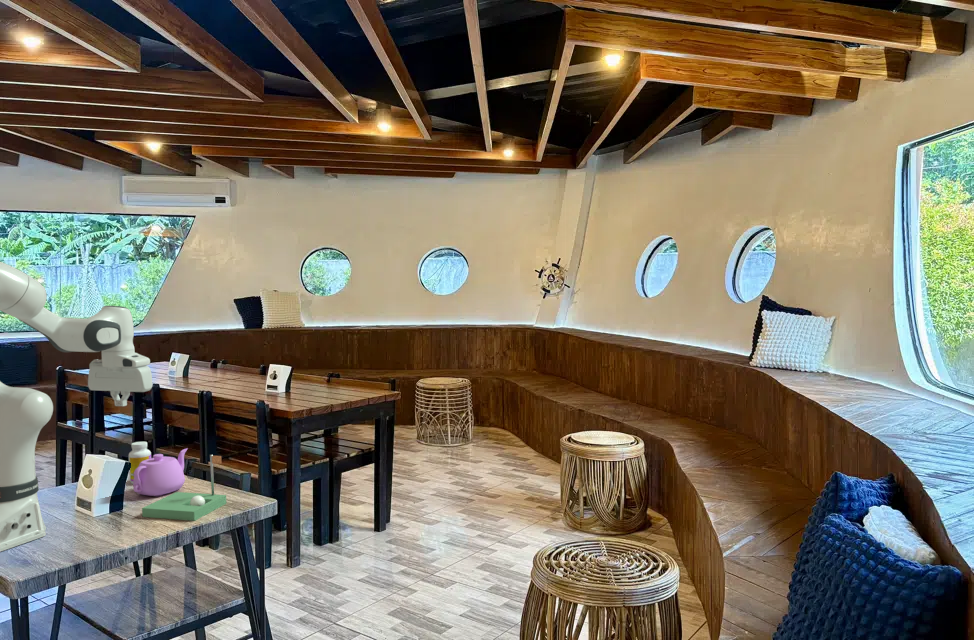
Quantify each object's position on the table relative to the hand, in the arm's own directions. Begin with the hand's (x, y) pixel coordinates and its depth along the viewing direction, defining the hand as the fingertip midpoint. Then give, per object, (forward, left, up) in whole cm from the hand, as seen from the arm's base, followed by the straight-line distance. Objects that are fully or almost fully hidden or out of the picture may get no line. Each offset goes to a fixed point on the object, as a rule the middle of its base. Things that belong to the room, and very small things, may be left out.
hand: (120, 405), depth 219 cm
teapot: (+10, -6, -29) cm, 31 cm away
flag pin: (+1, -31, -26) cm, 40 cm away
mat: (-5, -25, -28) cm, 38 cm away
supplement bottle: (+17, +8, -29) cm, 34 cm away
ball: (-5, -29, -26) cm, 39 cm away
